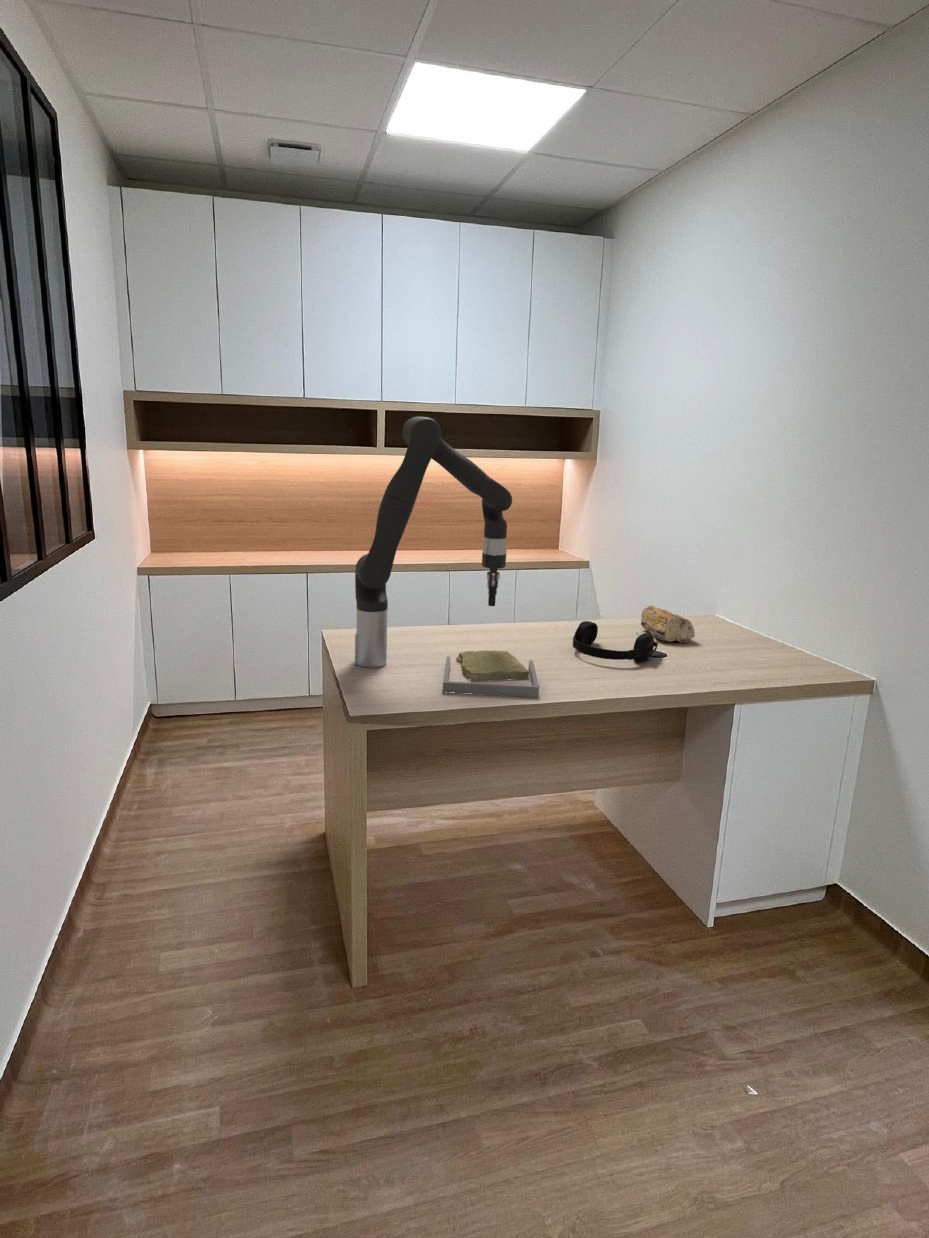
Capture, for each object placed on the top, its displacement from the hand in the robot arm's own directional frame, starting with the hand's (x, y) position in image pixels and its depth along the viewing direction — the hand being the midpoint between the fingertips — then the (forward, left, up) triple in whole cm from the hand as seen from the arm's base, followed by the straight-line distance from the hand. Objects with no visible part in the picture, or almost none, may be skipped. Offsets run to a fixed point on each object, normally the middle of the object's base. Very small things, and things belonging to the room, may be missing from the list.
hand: (491, 605), depth 236 cm
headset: (+42, +7, -17) cm, 46 cm away
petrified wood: (+65, +32, -17) cm, 74 cm away
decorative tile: (0, -15, -17) cm, 23 cm away
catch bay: (0, -25, -16) cm, 30 cm away
